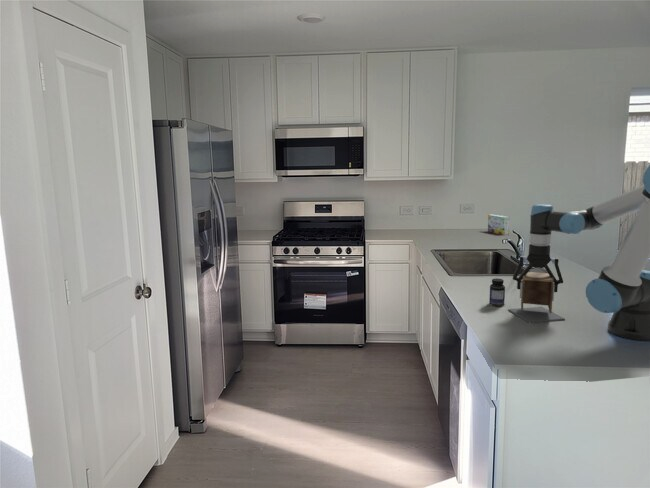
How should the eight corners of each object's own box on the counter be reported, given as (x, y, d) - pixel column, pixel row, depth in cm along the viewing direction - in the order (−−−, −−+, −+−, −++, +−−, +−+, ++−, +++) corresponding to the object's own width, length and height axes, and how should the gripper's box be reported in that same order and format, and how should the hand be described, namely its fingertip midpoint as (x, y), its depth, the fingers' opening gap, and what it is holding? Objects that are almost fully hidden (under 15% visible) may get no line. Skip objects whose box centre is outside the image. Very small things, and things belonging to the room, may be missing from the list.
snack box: (487, 231, 392) (487, 214, 389) (492, 231, 393) (493, 214, 391) (503, 235, 372) (504, 217, 369) (509, 234, 374) (510, 216, 371)
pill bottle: (492, 301, 201) (493, 277, 199) (506, 303, 198) (507, 279, 196) (487, 304, 197) (488, 280, 195) (501, 307, 193) (502, 282, 191)
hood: (549, 305, 185) (551, 273, 182) (551, 313, 175) (553, 280, 173) (521, 302, 189) (522, 271, 187) (521, 310, 179) (523, 277, 177)
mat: (564, 320, 176) (564, 318, 176) (528, 322, 174) (528, 321, 174) (541, 308, 191) (541, 306, 191) (508, 310, 189) (508, 309, 189)
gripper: (572, 243, 176) (568, 298, 180) (507, 241, 185) (505, 293, 189) (574, 247, 170) (570, 304, 174) (507, 244, 178) (504, 298, 182)
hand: (536, 298), depth 181 cm, fingers closed on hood, 11 cm apart
